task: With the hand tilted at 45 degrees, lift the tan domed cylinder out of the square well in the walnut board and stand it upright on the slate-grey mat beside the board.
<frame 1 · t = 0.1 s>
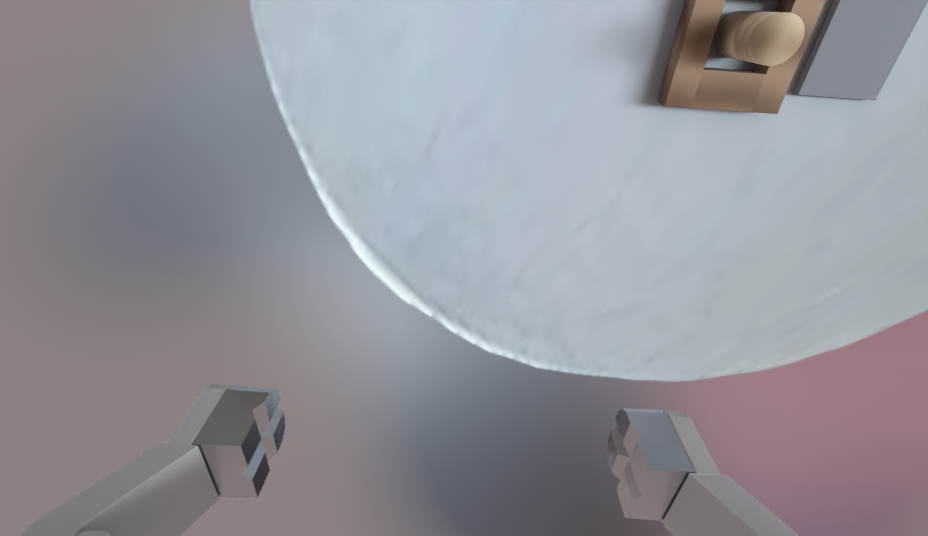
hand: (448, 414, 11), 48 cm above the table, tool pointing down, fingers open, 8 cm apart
well board: (735, 34, 48), on the table
tan domed cylinder: (755, 37, 45), in the well board
slate mat: (860, 33, 48), on the table
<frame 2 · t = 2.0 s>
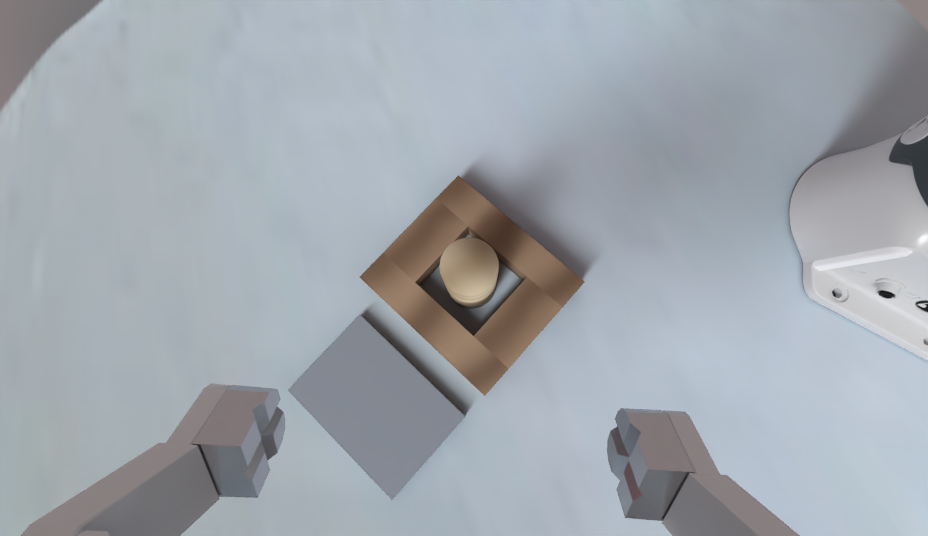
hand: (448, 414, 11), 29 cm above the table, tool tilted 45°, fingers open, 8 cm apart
well board: (471, 284, 41), on the table
tan domed cylinder: (470, 276, 37), in the well board
slate mat: (377, 402, 39), on the table
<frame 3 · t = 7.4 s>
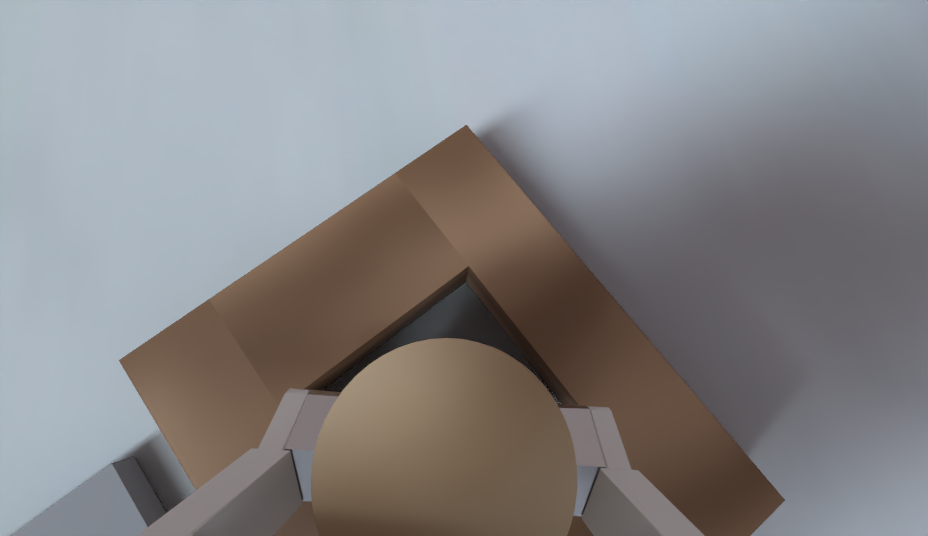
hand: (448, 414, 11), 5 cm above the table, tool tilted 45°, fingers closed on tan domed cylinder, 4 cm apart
well board: (448, 419, 15), on the table
tan domed cylinder: (447, 437, 11), in the well board, touching gripper
when the fingers open (7 cm above the table, at t = 13.5 s): tan domed cylinder drops 1 cm, resting on slate mat.
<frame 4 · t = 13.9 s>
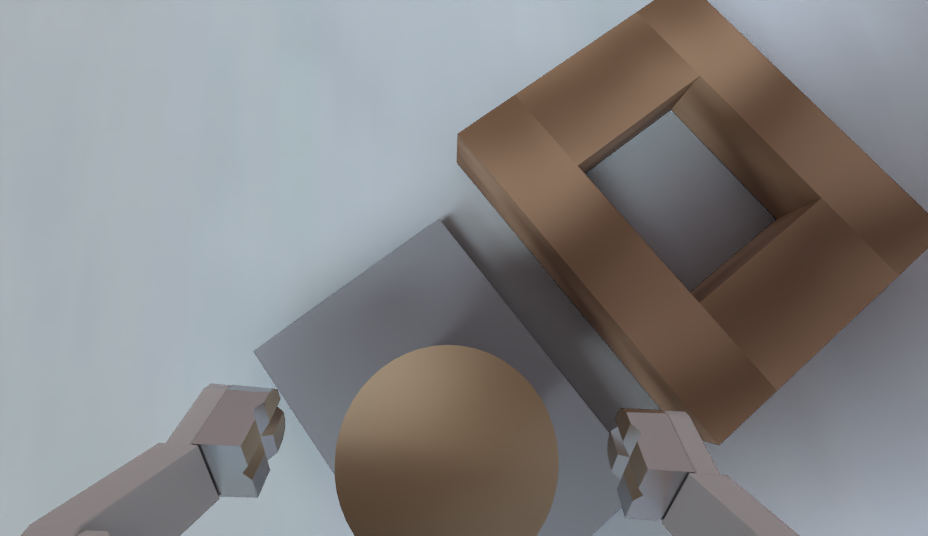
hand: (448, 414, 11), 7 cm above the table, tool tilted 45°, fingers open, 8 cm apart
well board: (669, 204, 20), on the table
tan domed cylinder: (448, 430, 13), on the slate mat, point 5 cm above the table
slate mat: (447, 413, 18), on the table
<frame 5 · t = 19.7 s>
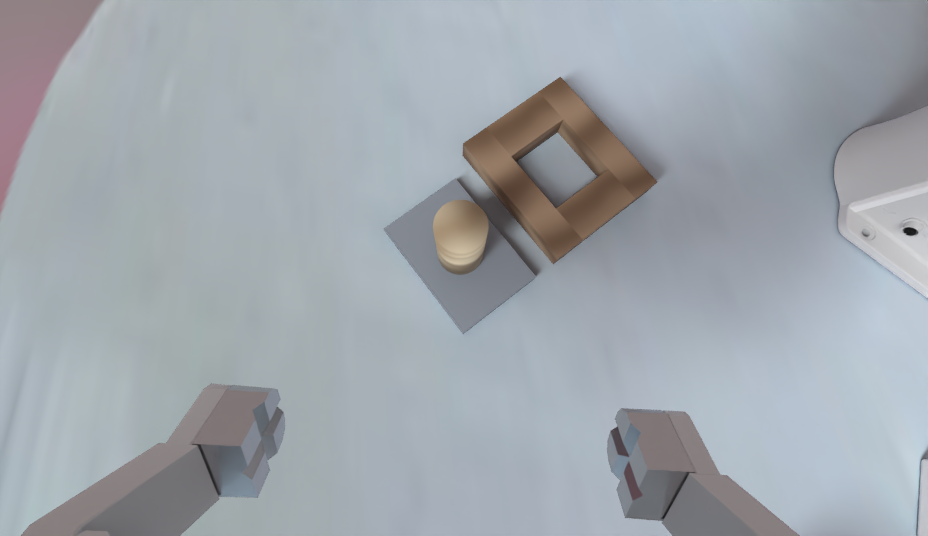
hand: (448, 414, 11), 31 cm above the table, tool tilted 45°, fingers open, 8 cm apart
well board: (554, 173, 46), on the table
tan domed cylinder: (460, 240, 39), on the slate mat, point 5 cm above the table
slate mat: (459, 255, 44), on the table
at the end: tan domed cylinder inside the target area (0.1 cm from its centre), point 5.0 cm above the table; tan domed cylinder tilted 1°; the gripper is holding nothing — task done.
